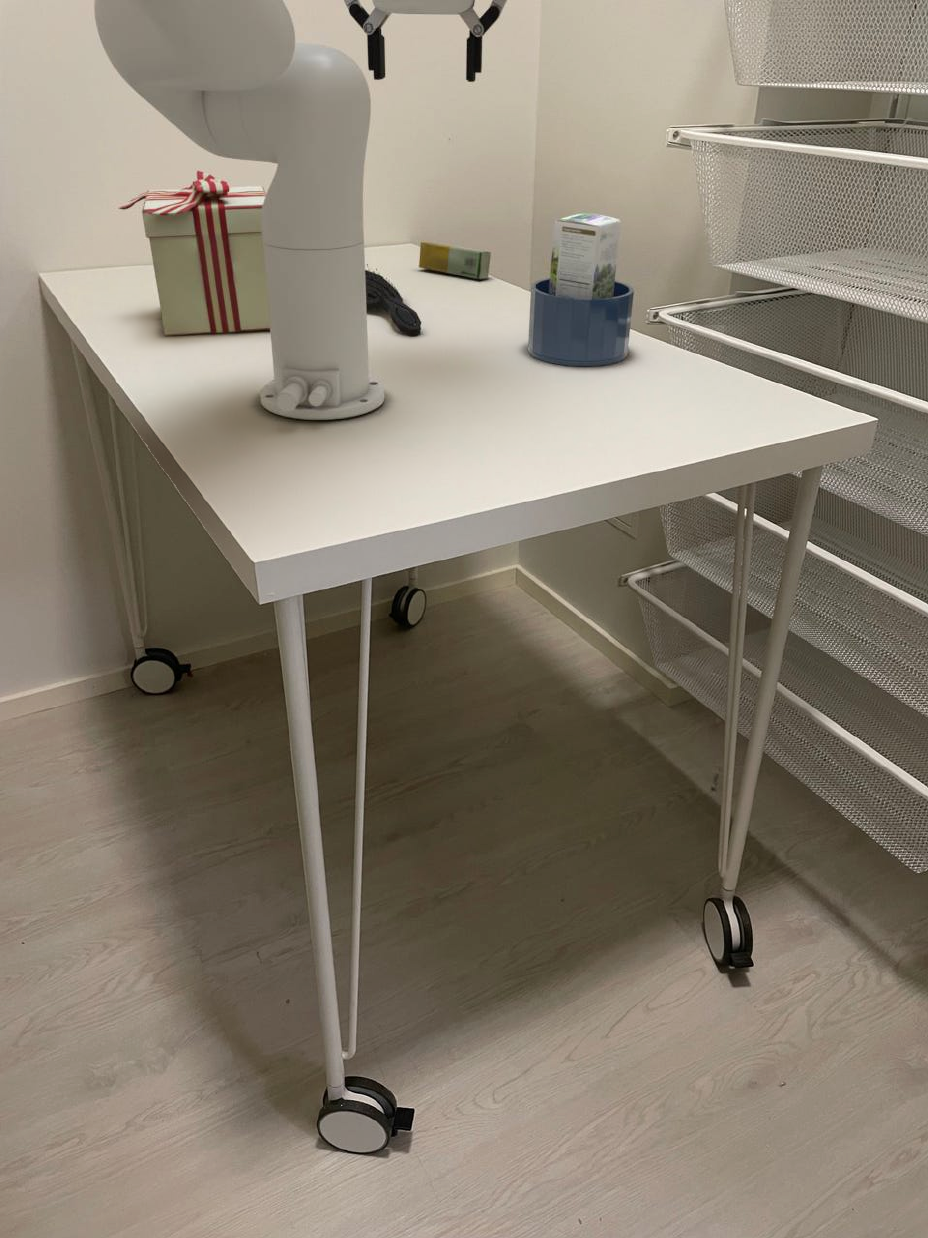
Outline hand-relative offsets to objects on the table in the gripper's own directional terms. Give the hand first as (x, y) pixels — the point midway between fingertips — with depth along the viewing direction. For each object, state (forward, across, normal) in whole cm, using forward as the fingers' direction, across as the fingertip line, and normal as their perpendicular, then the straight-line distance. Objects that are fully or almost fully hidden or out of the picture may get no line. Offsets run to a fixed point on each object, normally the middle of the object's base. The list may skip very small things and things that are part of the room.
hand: (425, 79), depth 102 cm
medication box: (+28, -1, +42) cm, 51 cm away
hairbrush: (+28, -8, +17) cm, 34 cm away
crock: (+28, +18, +2) cm, 34 cm away
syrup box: (+28, +18, +2) cm, 33 cm away
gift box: (+28, -29, +9) cm, 42 cm away
